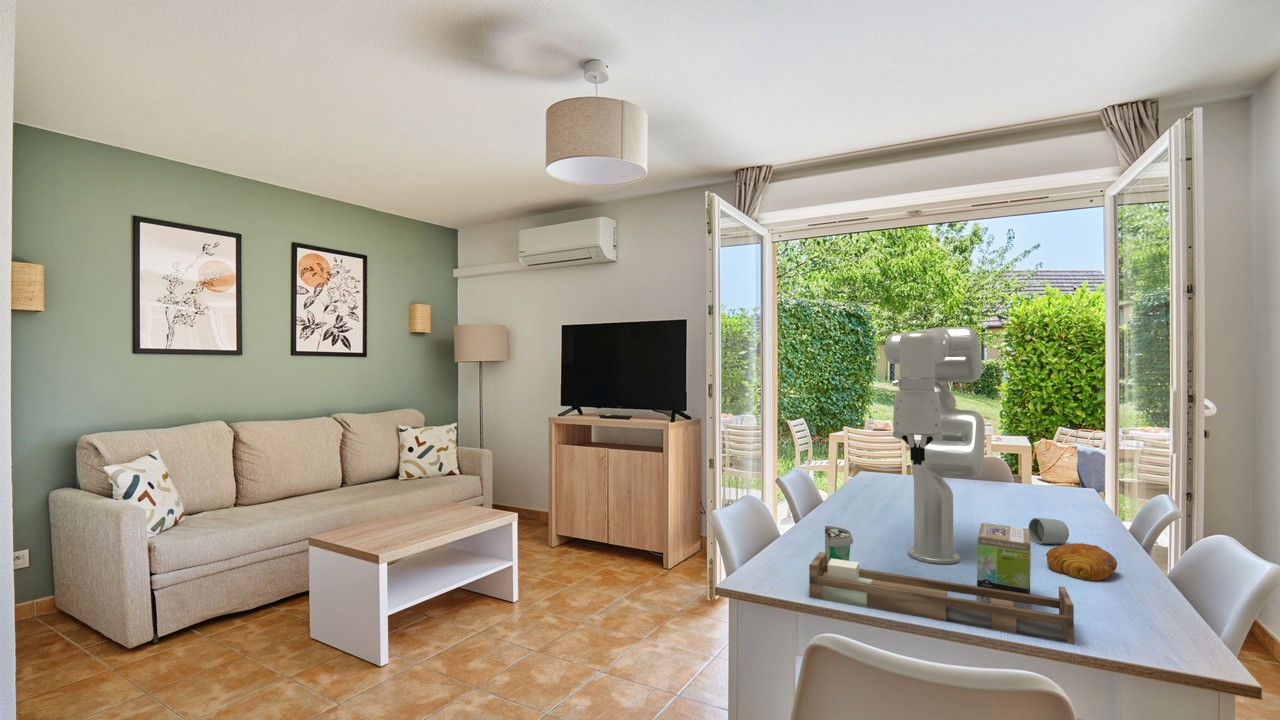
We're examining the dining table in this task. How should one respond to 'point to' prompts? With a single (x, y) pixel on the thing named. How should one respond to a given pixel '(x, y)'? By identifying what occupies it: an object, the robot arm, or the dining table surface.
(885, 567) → the dining table surface
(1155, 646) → the dining table surface
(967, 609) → the wooden rack
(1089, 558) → the swirled bread bun
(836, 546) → the food container
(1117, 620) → the dining table surface
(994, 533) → the tea box
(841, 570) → the block
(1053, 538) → the ceramic mug
